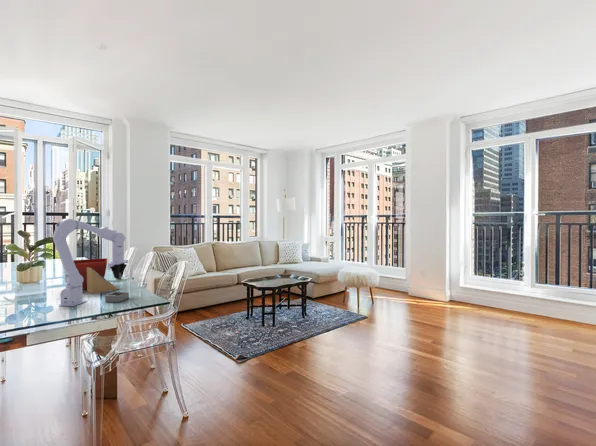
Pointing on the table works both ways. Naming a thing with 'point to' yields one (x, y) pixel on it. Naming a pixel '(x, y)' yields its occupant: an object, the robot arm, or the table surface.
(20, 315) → the table surface
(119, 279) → the lid
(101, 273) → the plant pot
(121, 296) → the box
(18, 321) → the table surface
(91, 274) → the sandwich container
